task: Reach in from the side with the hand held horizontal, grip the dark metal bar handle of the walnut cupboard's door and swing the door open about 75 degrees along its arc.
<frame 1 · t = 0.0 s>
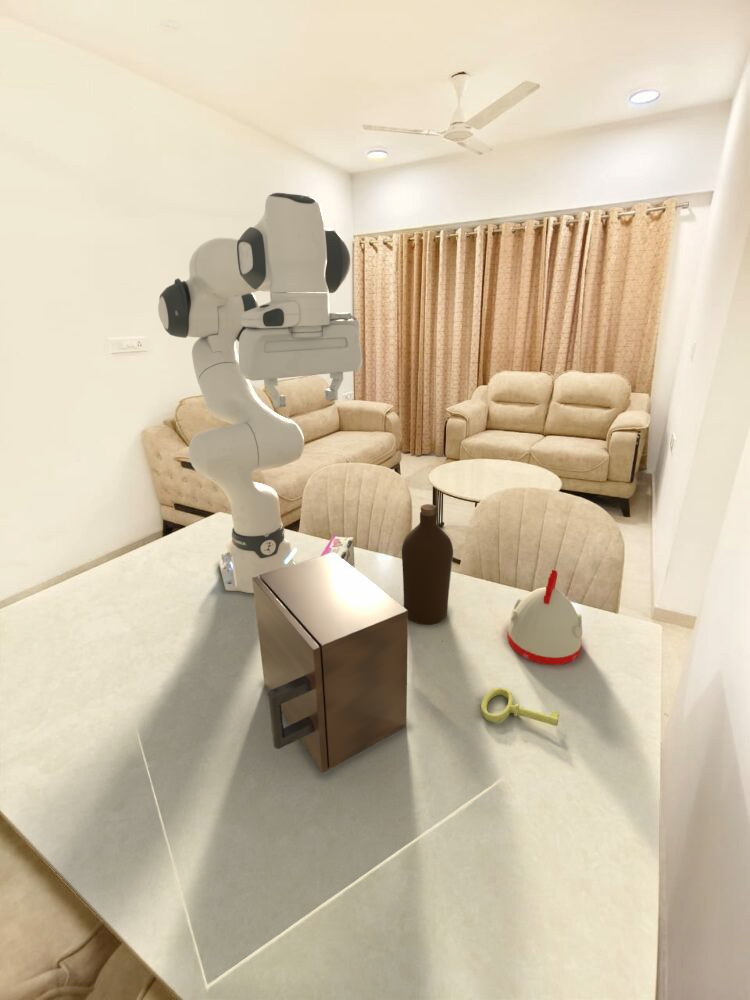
hand: (306, 403, 82), 48 cm above the table, tool pointing down, fingers open, 8 cm apart
olive oil: (425, 613, 109), on the table
door: (270, 675, 76), point 11 cm above the table, hinge at 0.0°
kitchen timer: (543, 642, 100), on the table
candy bar box: (339, 615, 109), on the table
key: (515, 715, 82), on the table
cupboard: (334, 702, 85), on the table
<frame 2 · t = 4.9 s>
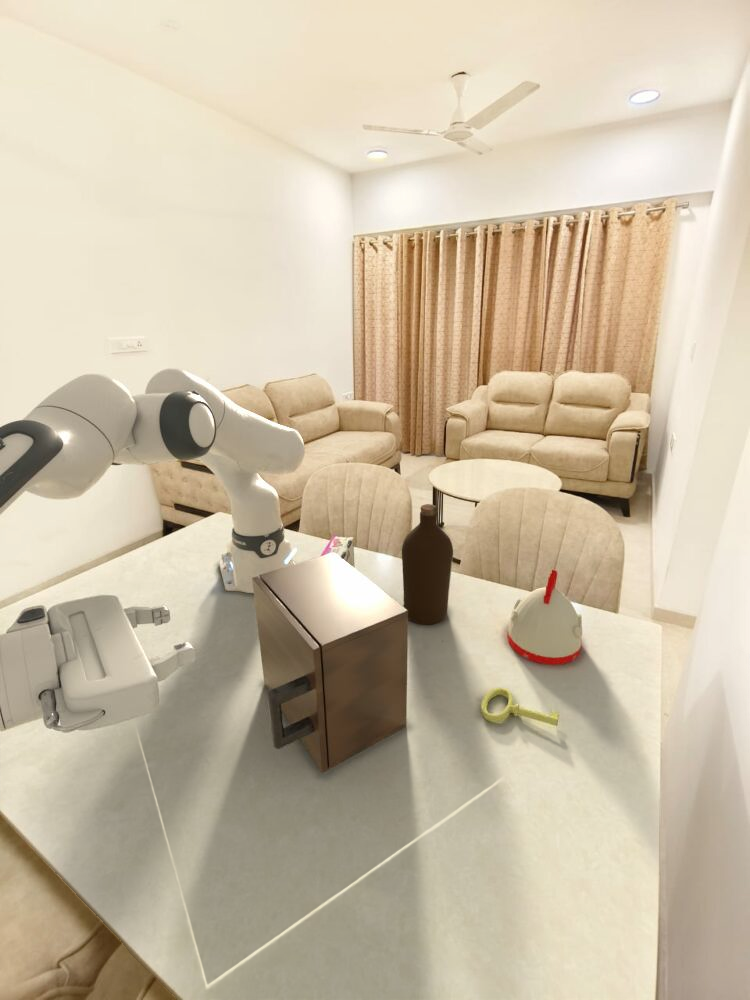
hand: (180, 630, 57), 29 cm above the table, tool horizontal, fingers open, 8 cm apart
nothing on the table moved.
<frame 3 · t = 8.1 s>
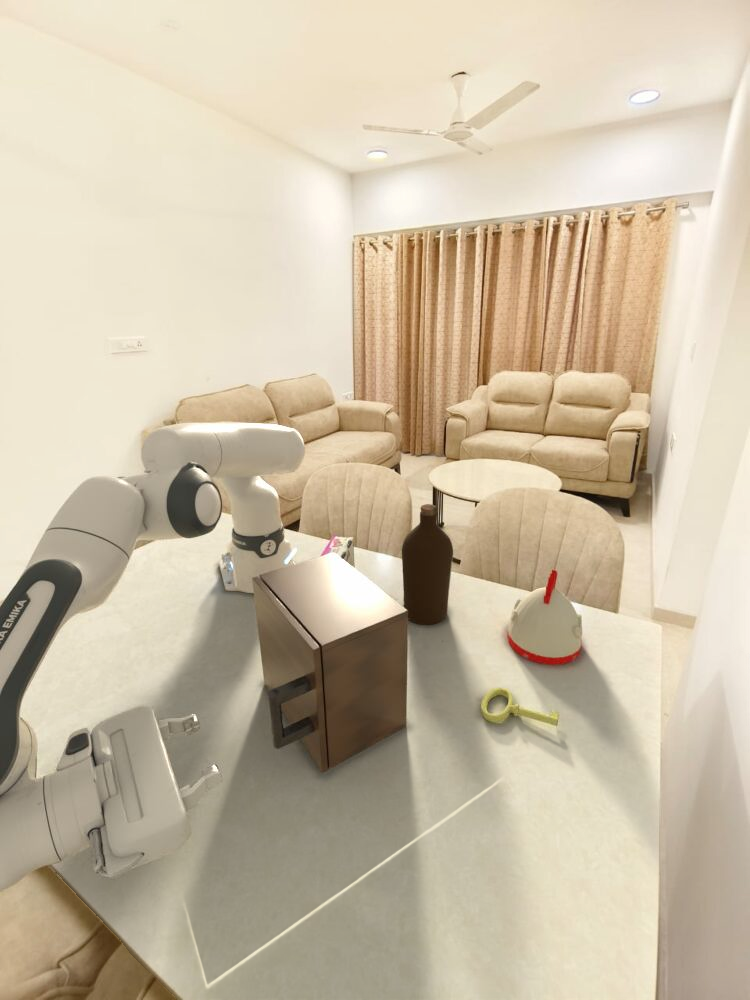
hand: (208, 745, 63), 12 cm above the table, tool horizontal, fingers open, 8 cm apart
nothing on the table moved.
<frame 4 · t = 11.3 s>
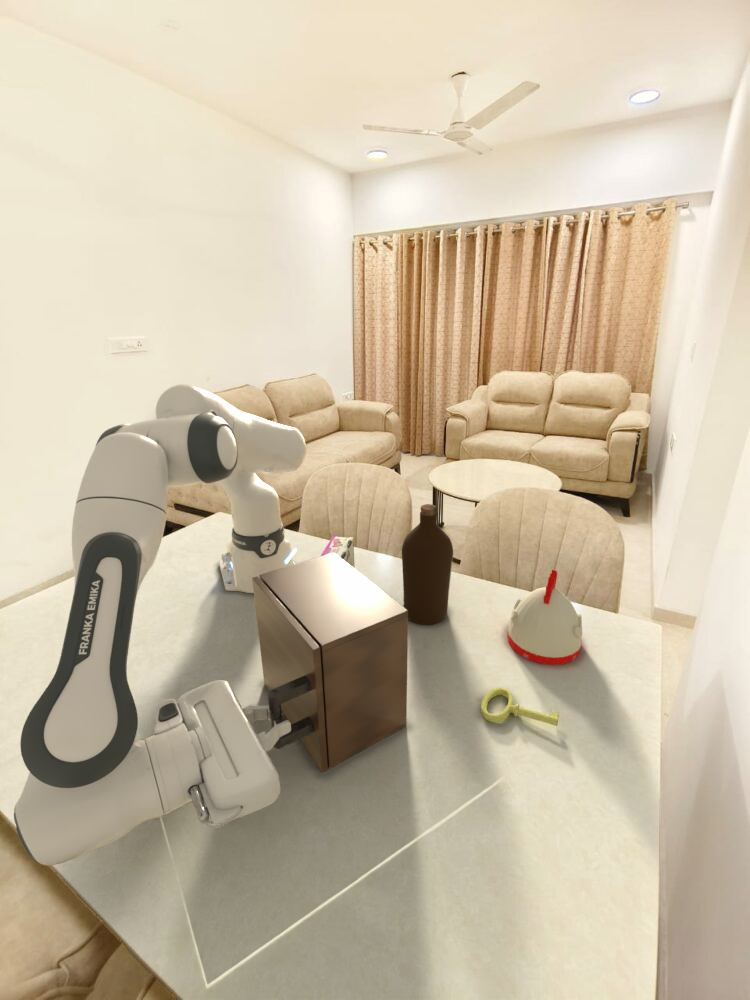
hand: (284, 715, 68), 11 cm above the table, tool horizontal, fingers closed on door, 2 cm apart
door: (270, 675, 76), point 11 cm above the table, hinge at 0.0°, touching gripper
everything else where it was.
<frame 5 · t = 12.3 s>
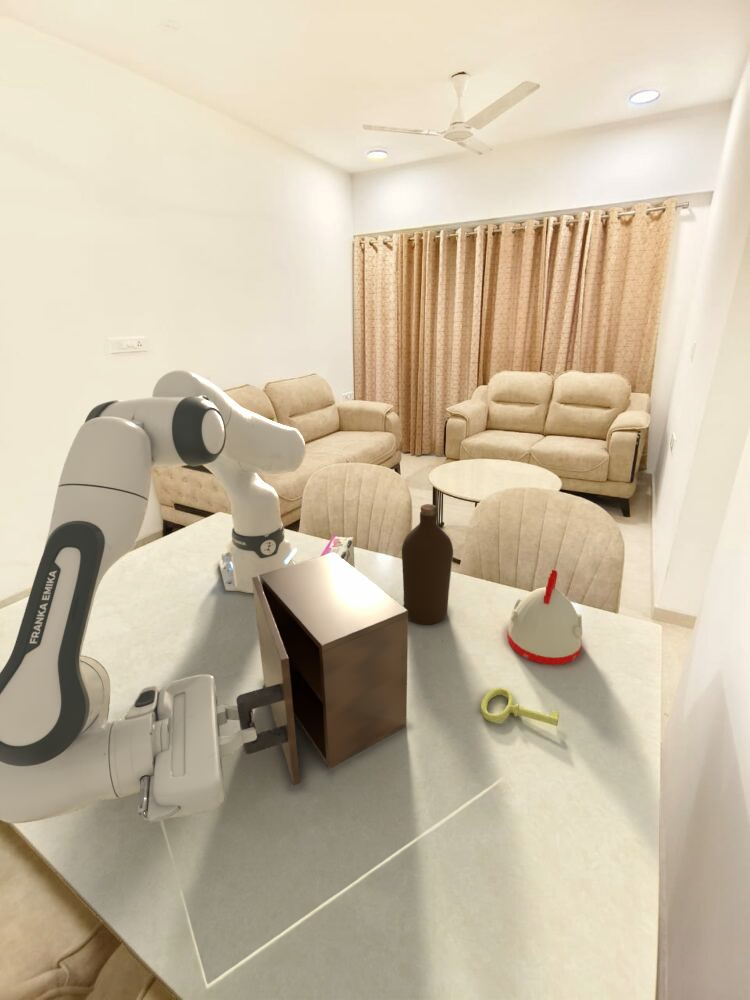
hand: (254, 721, 67), 11 cm above the table, tool horizontal, fingers closed
door: (255, 678, 75), point 11 cm above the table, hinge at 11.3°, touching gripper
everything else where it was.
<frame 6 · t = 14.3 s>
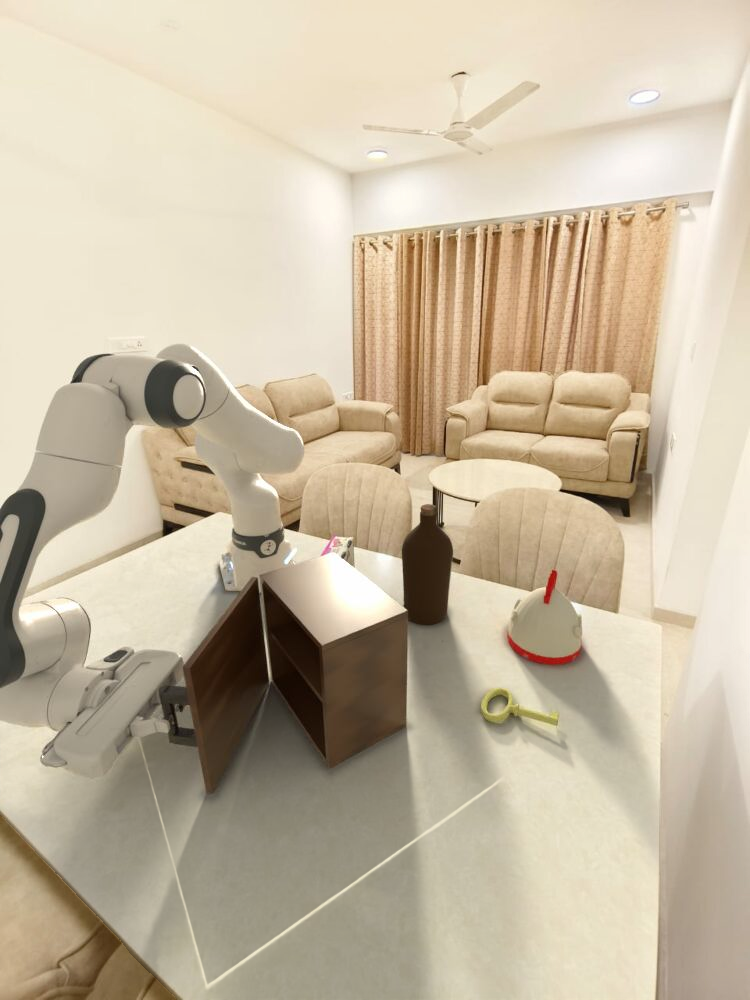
hand: (178, 713, 69), 11 cm above the table, tool horizontal, fingers closed
door: (216, 674, 76), point 11 cm above the table, hinge at 43.0°, touching gripper
everything else where it was.
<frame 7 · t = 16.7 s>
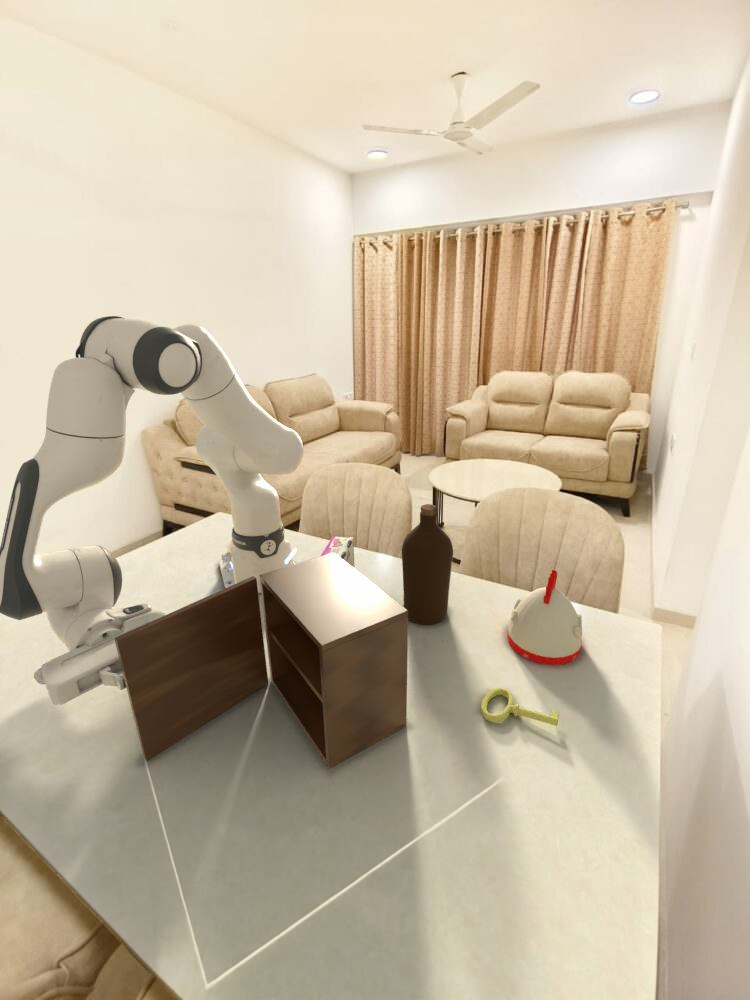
hand: (137, 677, 75), 11 cm above the table, tool horizontal, fingers closed
door: (193, 655, 80), point 11 cm above the table, hinge at 76.5°, touching gripper
everything else where it was.
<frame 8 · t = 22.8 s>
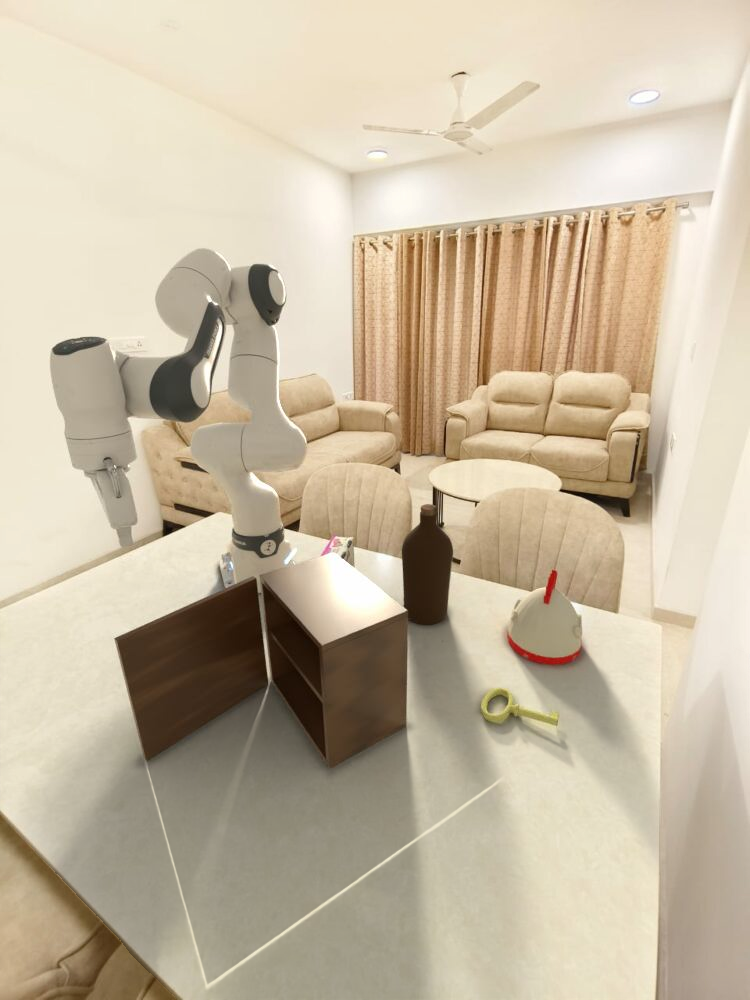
hand: (121, 533, 80), 29 cm above the table, tool pointing down, fingers open, 8 cm apart
door: (193, 655, 80), point 11 cm above the table, hinge at 76.5°
everything else where it was.
at the end: door at +76° (first picture: +0°) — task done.
